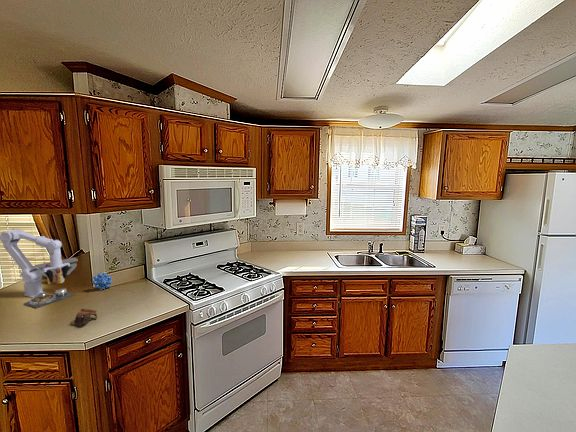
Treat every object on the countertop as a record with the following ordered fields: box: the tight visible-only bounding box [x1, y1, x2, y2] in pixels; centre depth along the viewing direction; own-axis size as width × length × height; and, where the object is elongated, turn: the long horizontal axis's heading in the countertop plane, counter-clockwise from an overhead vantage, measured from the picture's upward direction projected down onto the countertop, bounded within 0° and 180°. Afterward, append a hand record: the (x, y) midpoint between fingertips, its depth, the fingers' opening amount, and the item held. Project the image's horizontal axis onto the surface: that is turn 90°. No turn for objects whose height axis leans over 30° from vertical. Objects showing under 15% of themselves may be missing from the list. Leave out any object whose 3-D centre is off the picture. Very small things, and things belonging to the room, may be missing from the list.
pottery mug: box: [73, 308, 98, 327], centre depth 150 cm, size 12×10×8 cm
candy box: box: [45, 261, 65, 285], centre depth 207 cm, size 9×4×15 cm, turn 99°
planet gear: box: [34, 291, 52, 302], centre depth 175 cm, size 8×8×4 cm
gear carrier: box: [23, 287, 75, 309], centre depth 178 cm, size 13×20×4 cm, turn 157°
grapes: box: [91, 272, 113, 291], centre depth 193 cm, size 12×7×12 cm, turn 139°
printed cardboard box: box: [33, 257, 79, 278], centre depth 223 cm, size 25×8×11 cm, turn 143°
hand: (58, 279), depth 187 cm, fingers open, 7 cm apart
